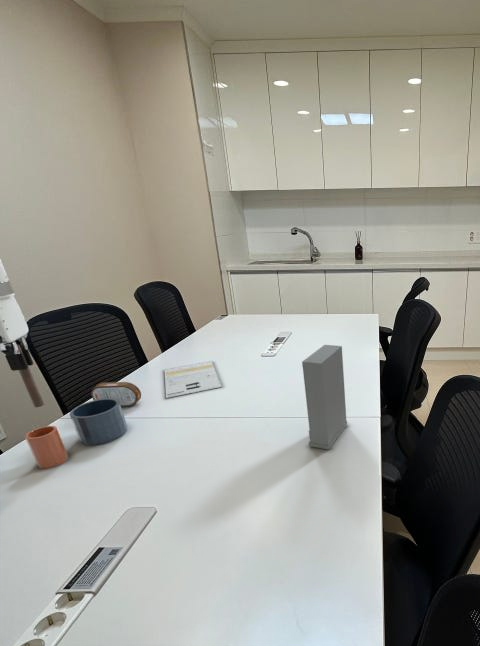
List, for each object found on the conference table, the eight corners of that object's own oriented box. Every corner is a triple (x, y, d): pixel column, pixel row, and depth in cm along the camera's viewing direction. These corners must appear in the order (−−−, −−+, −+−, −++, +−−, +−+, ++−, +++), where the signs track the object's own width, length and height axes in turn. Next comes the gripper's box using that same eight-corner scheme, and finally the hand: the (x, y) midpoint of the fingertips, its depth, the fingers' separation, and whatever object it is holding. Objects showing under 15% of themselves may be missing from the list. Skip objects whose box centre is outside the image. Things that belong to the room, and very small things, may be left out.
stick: (32, 407, 97) (6, 347, 90) (36, 404, 99) (11, 344, 92) (42, 406, 97) (16, 346, 91) (45, 403, 99) (21, 343, 93)
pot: (73, 449, 108) (62, 420, 104) (88, 428, 118) (78, 401, 115) (122, 441, 111) (112, 413, 107) (132, 421, 122) (124, 395, 118)
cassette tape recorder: (328, 422, 118) (321, 344, 108) (347, 425, 116) (342, 345, 106) (308, 447, 106) (298, 361, 96) (328, 450, 104) (321, 363, 94)
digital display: (211, 361, 168) (221, 386, 144) (211, 362, 168) (221, 386, 144) (164, 369, 161) (166, 397, 136) (164, 370, 161) (166, 398, 136)
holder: (33, 470, 99) (19, 440, 95) (45, 456, 105) (32, 428, 101) (62, 465, 101) (50, 436, 97) (72, 452, 106) (60, 424, 103)
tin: (144, 402, 134) (137, 380, 130) (140, 406, 131) (133, 384, 127) (99, 404, 133) (91, 382, 130) (94, 409, 130) (86, 386, 127)
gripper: (-10, 286, 92) (20, 358, 100) (-54, 299, 78) (-15, 382, 86) (27, 284, 94) (54, 355, 102) (-10, 296, 80) (25, 377, 88)
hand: (22, 367), depth 94 cm, fingers closed on stick, 2 cm apart
